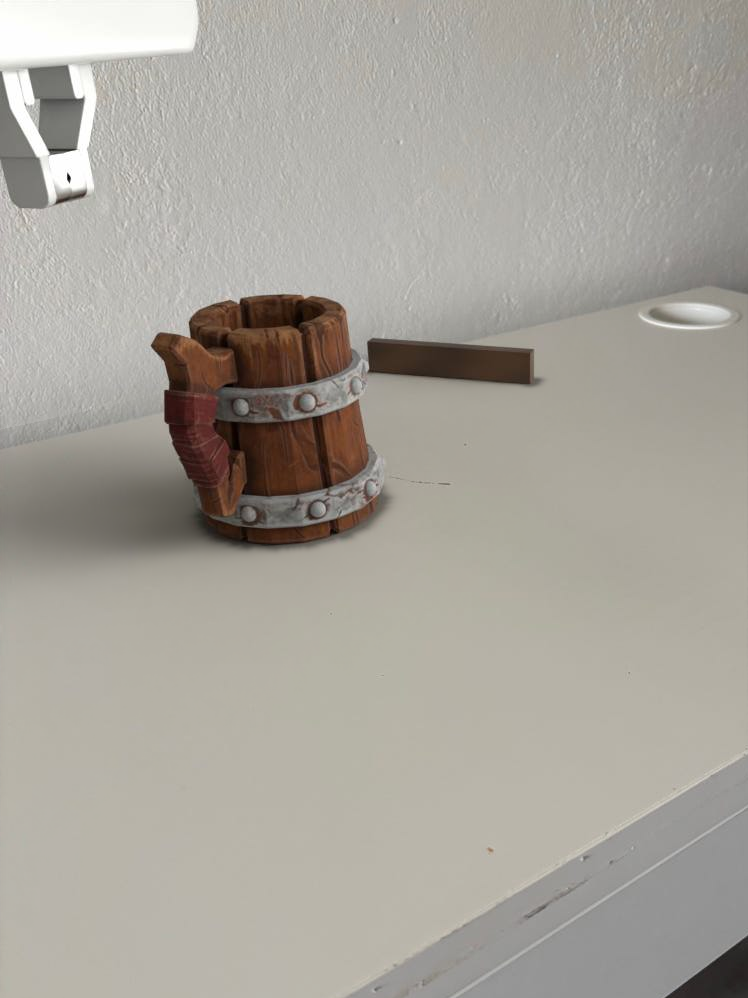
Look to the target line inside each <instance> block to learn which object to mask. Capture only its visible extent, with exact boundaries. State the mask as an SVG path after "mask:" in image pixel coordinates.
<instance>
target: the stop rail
mask: <svg viewBox="0 0 748 998" xmlns="http://www.w3.org/2000/svg"><path fill="white" fill-rule="evenodd" d="M366 347H367V362H368V365H369V370H368V372H372V373H373V372H374V373H387V374H399V375H411V376H412V375H413V376H427V377H436V378H437V377H438V378H448V379H449V378H450V379H464V380H477V381H489V382H499V383H500V382H502V383H513V384H526V385H530V384H531V383H532V382H533V381H534V380H535V348H527V347H511V346H496V345H483V344H469V343H468V344H466V343H452V342H437V341H423V340H410V339H395V338H394V339H393V338H380V337H371V338H369V340H367V341H366Z"/></svg>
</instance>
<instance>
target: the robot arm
mask: <svg viewBox="0 0 748 998" xmlns="http://www.w3.org/2000/svg"><path fill="white" fill-rule="evenodd" d="M199 24H200V18H199V9H198V3H197V0H0V165H1V169H2V172H3V176H4V181H5V184H6V188H7V192H8V197H9V199H10V200H11V202H12V203H13V205H15V206H16V207H17V208H19V209H31V210H34V209H35V210H43V209H48V208H52V207H55V206H58V205H62V204H64V203H70V202H74V201H78V200H82V199H86V198H89V197H91V196H92V195H93V194H94V192H95V182H94V177H93V171H92V168H91V162H90V158H89V157H90V156H89V153H88V148H90V140H91V135H92V130H93V129H92V128H93V125H94V124H93V123H94V118H95V113H96V112H95V111H96V106H97V101H98V94H97V89H96V83H95V79H94V74H93V70H92V65H91V64H94V63H105V62H115V61H116V62H117V61H126V60H137V59H147V58H148V59H149V58H160V57H170V56H179V55H181V56H182V55H189V54H192V52H194V49H195V46H196V42H197V38H198V32H199ZM36 100H39V115H38V129H37V127H36V125H35V123H34V121H33V120H32V118H31V116H30V114H29V113H28V110H27V108H26V107H27V106H34V105H35V102H36Z"/></svg>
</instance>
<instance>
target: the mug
mask: <svg viewBox="0 0 748 998" xmlns="http://www.w3.org/2000/svg"><path fill="white" fill-rule="evenodd" d="M188 329H189V337H188V336H185V335H181V334H179V333H171V332H170V333H169V332H162V331H160V332H158V333H156V334H155V337H154V339H153V340H152V342H151V344H150V348H151V349H152V350H153V351H154V352H155V353H156V354H157V356H158V357H159V358H160V359H161V360H162V361H163V363H164V368H165V370H166V374H167V380H168V389H164V390H163V406H164V407H163V411H164V412H163V422H164V423H165V424H167V425H168V433H169V435H170V438H171V440H172V442H171V445H172V447H173V448H174V451H175V453H176V454H177V456H178V461H179V462H180V463H181V465H182V466H183V470H184V473H185V474H186V476H187V479H188V480H191V482H192V486H193V495H194V497H193V500H194V503H195V506H196V507H197V508H198V509H200V510H201V511H202V513H204V514H205V519H206V523H207V524H209V525H210V526H211V527H213V528H214V529H215V530H216V531H217V532H218V533H219V534H221V535H223V536H226V537H230V538H231V539H235V540H238V541H242V540H243V539H244V538H246V537H247V541H248V542H249V543H256V544H267V545H282V544H297V543H307V542H312V541H316V540H321V539H325V538H328V537H329V536H330V535H331V530H332V531H334V532H335V533H337V534H341V533H343V532H345V531H347V530H350V529H352V528H354V527H357V526H358V525H360V523H361V524H362V522H364V520H366V519H367V518H368V517H369V516H371V514H372V513H373V512H374V511H375V508H376V506H377V503H378V501H379V499H378V495H380V493H381V490H382V487H383V485H384V482H385V475H384V469H385V468H386V465H387V462H386V459H385V458H384V457H383V456H382V455H379V454H378V451H377V450H376V447H374V446H373V445H371V444H369V443H367V438H366V433H365V428H364V423H363V418H362V412H361V407H360V398H362V397H363V395H364V393H365V392H366V390H367V387H368V385H369V381H368V376H367V374H368V372H369V361H368V360H366V359H364V358H363V357H362V355H361V354H360V352H359V351H358V350H356V349H355V348H352V347H351V341H350V332H349V326H348V318H347V310H346V309H345V308H344V306H343V305H342V304H341V303H340V302H338V301H335V300H332V299H330V298H327V297H324V296H323V297H322V296H316V295H310V296H308V297H304V295H303V294H293V293H292V294H289V293H288V294H287V293H281V294H278V293H277V294H261V295H253V296H252V295H251V296H245V297H244V296H243V297H240V299H239V303H238V302H236V301H234V300H232V299H228V300H224V301H220V302H216V303H211V304H210V305H207V306H205V307H202V308H200V309H198V310H197V311H196V312H195V313H193V315H192V316H191V317H190V318H189V321H188Z"/></svg>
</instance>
